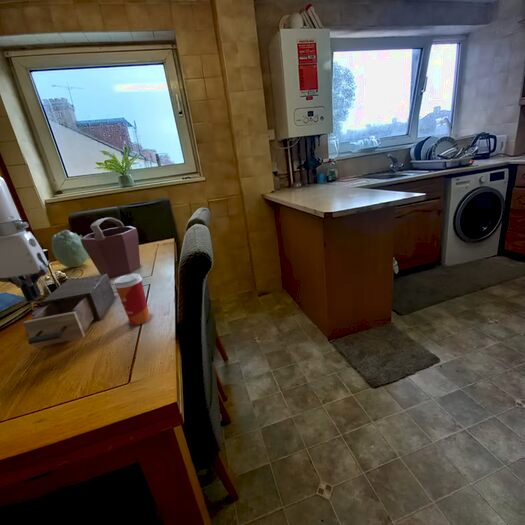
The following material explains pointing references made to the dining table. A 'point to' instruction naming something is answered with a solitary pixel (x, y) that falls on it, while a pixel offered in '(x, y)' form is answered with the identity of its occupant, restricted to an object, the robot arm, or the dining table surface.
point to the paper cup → (133, 298)
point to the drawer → (60, 321)
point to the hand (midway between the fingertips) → (34, 298)
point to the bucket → (113, 248)
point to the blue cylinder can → (36, 311)
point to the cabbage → (69, 249)
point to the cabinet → (86, 292)
